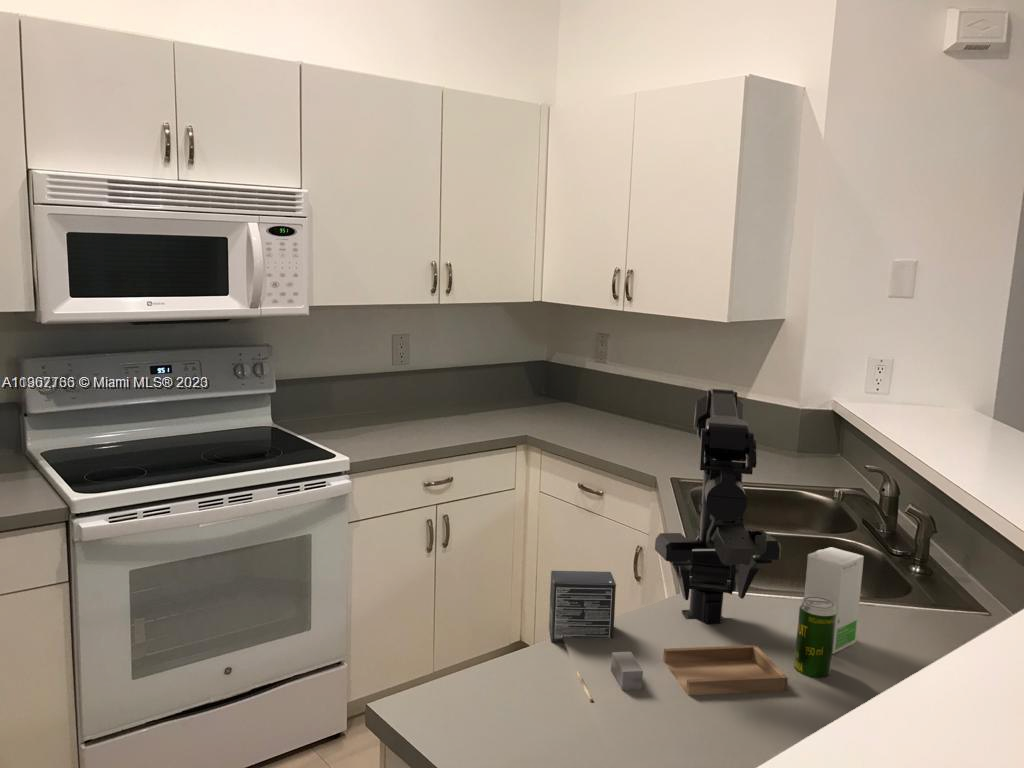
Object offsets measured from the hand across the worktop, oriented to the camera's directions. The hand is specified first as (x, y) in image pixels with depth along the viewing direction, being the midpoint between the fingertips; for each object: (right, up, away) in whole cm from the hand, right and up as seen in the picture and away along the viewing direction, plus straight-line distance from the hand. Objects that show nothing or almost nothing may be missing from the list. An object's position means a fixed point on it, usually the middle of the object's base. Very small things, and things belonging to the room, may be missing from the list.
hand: (713, 598), depth 133 cm
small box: (-20, -9, +10) cm, 24 cm away
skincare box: (+22, -11, +12) cm, 27 cm away
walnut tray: (0, -12, -4) cm, 12 cm away
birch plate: (-15, -12, -6) cm, 20 cm away
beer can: (+15, -12, -1) cm, 19 cm away
